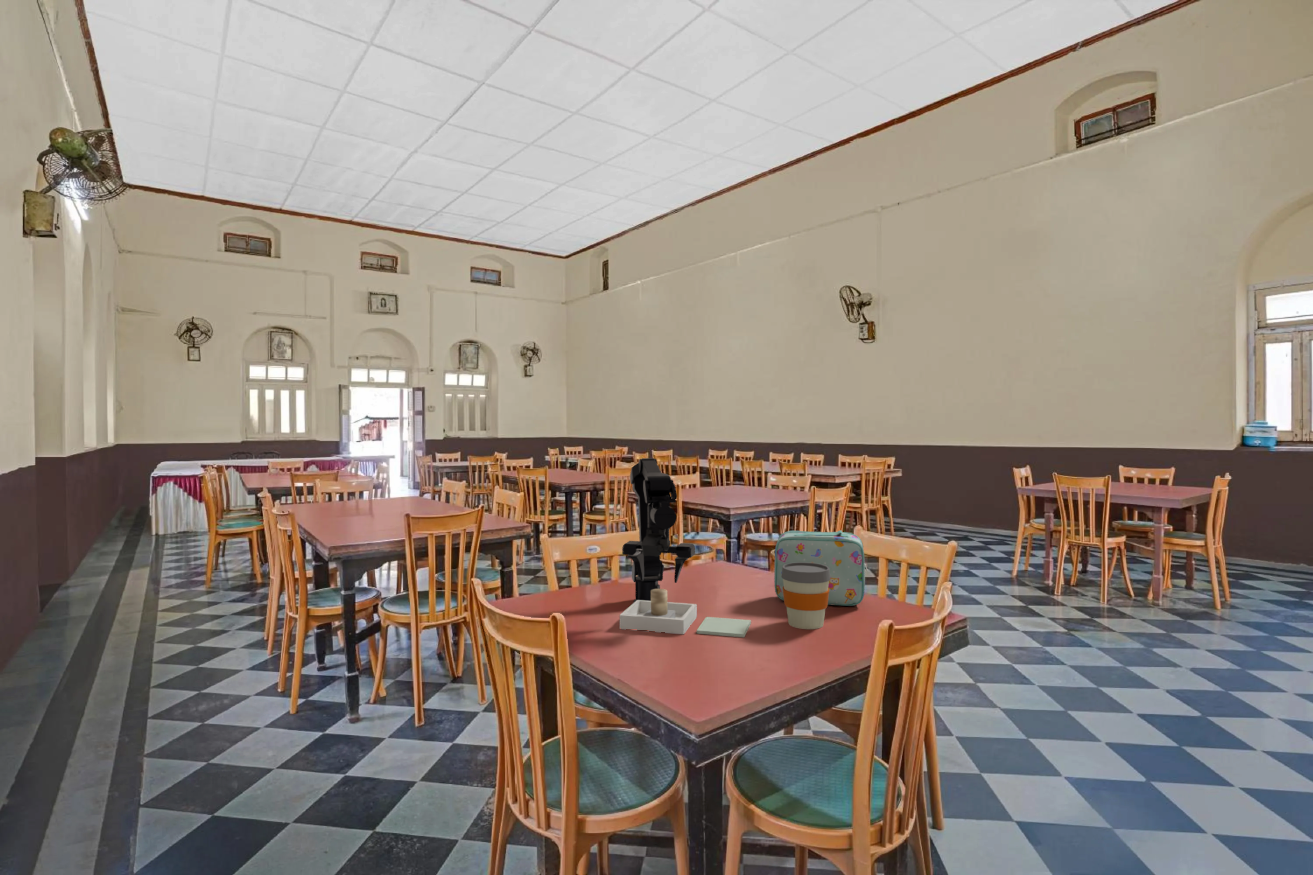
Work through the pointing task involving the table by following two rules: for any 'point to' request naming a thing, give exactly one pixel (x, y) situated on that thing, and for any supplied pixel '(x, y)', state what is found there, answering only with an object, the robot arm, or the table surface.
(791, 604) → the reusable coffee cup
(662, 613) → the birch cylinder
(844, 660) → the table surface
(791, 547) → the lunch box
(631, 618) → the tray
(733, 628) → the green pad
